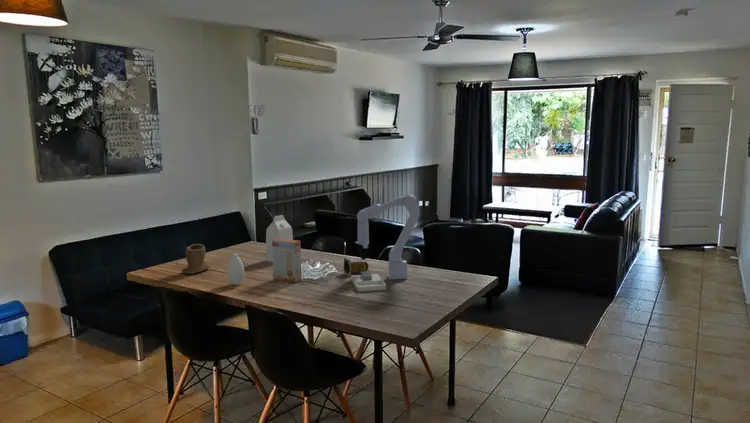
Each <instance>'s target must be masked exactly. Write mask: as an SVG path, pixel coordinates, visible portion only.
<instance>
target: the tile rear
mask: <svg viewBox="0 0 750 423" xmlns="http://www.w3.org/2000/svg"><path fill="white" fill-rule="evenodd" d="M363 274H371V273H370V271H368V270H367V271H364V272H361V273H360V275H361V276H362V278H363Z"/></svg>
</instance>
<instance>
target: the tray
mask: <svg viewBox="0 0 750 423" xmlns="http://www.w3.org/2000/svg"><path fill="white" fill-rule="evenodd" d="M353 286H354V288H355V290H356V292H357V293H361V292H362V293H363V292H364V293H365V292H376V291H377V292H379V291H381V290H382V291H387V284H386V282H385V281H384V280H383V279H382V280H381V284H366V285H357V283H356V281H354V284H353Z"/></svg>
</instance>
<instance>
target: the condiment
mask: <svg viewBox="0 0 750 423" xmlns="http://www.w3.org/2000/svg"><path fill="white" fill-rule="evenodd" d="M368 270H369V264H368V261H361V260H360V261H352V260H350V259H348V258H345V257H343V275H344V274H345V275H346V276H349V277H351V275H353V274H354V275H355V274H361V272H367V271H368Z"/></svg>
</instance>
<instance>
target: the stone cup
mask: <svg viewBox="0 0 750 423" xmlns="http://www.w3.org/2000/svg"><path fill="white" fill-rule="evenodd" d="M205 258H206V247H205V246H204V244H201V243H193V244H190V245H189V246H186V248H185V260H186V262H187V267H186V266H185V268H182V269H181V272H182V273H183V274H189V275H190V274H191V275H193V274H197V273H200V272H203V271H205V270H208V269H210V268H211V266H210V265H209V264H208V263H207V262H205Z"/></svg>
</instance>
